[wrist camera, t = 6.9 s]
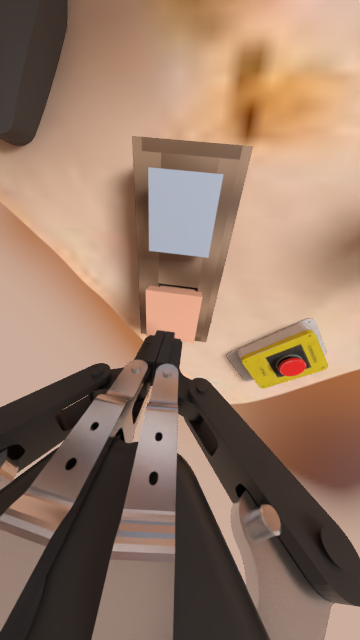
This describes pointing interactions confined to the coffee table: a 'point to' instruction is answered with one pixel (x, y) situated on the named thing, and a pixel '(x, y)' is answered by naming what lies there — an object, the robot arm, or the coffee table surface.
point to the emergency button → (282, 355)
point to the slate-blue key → (182, 210)
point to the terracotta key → (173, 311)
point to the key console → (209, 270)
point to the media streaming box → (28, 63)
